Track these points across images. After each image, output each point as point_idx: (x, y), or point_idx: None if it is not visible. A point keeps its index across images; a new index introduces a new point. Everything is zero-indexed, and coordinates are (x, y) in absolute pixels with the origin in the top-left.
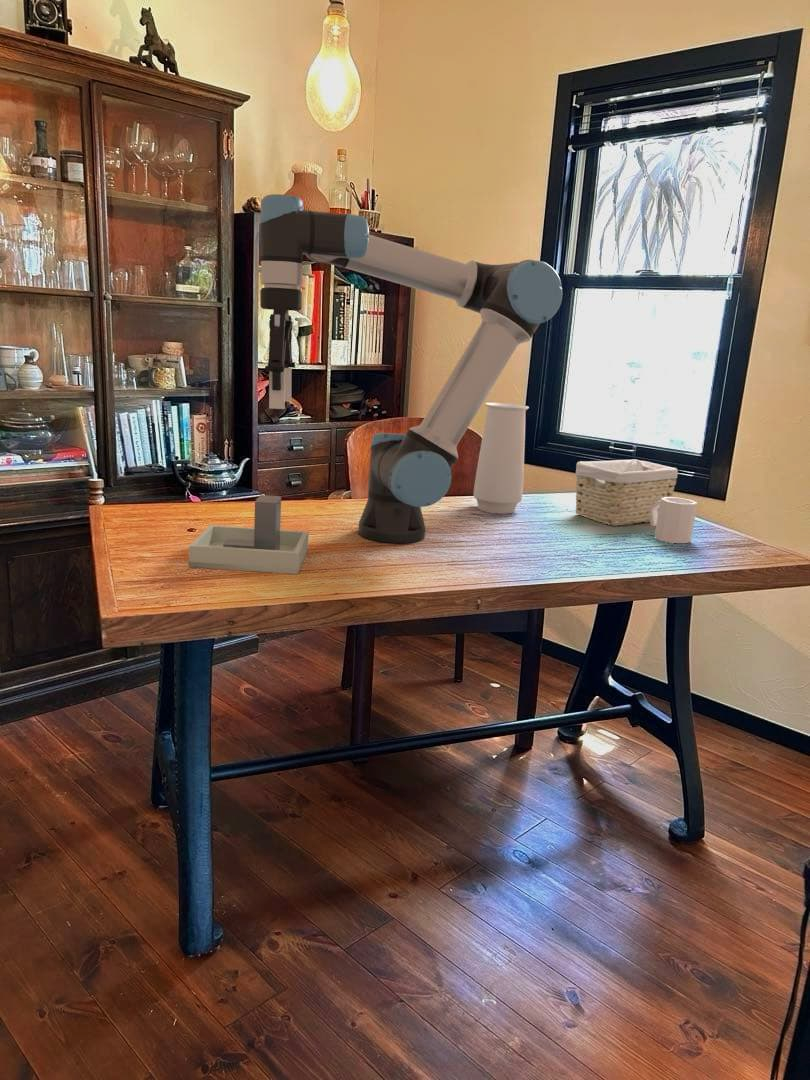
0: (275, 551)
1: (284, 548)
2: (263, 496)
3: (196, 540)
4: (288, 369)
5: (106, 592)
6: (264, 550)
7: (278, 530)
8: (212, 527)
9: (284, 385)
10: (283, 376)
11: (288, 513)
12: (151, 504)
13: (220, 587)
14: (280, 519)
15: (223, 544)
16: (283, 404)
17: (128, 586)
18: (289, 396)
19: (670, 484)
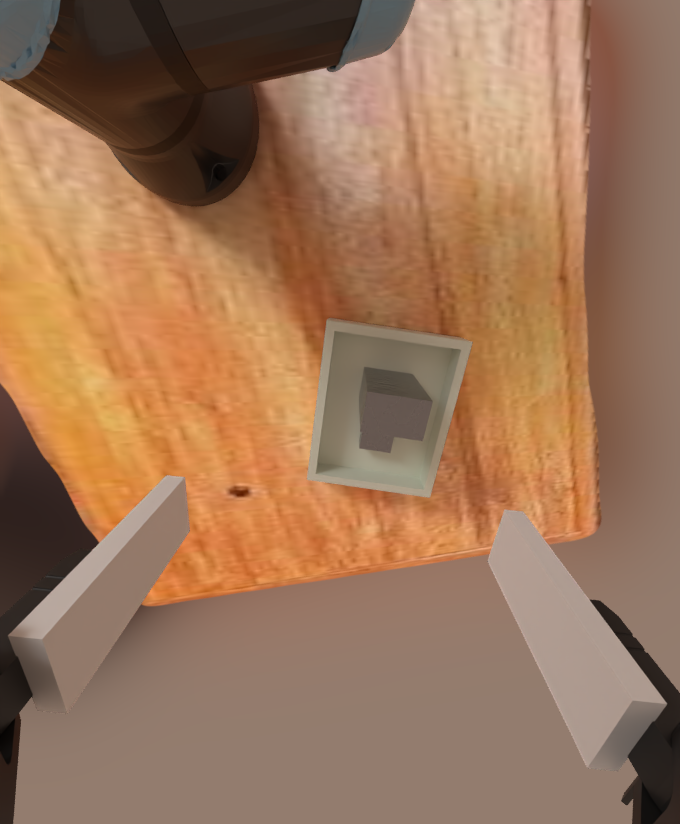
0: (460, 379)
1: (350, 358)
2: (373, 426)
3: (399, 490)
4: (56, 643)
5: None
6: (454, 396)
7: (387, 378)
8: (322, 475)
9: (587, 605)
10: (635, 672)
11: (81, 348)
12: None
13: (511, 439)
14: (366, 379)
15: (390, 452)
16: (532, 528)
17: (496, 533)
18: (172, 498)
19: None
